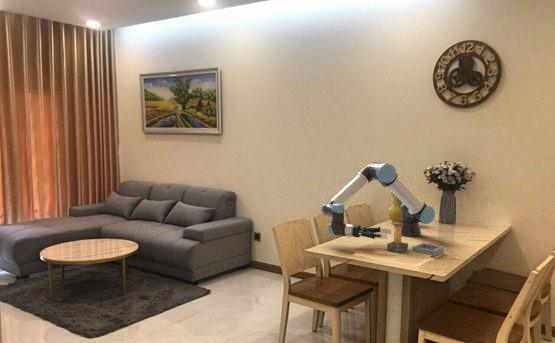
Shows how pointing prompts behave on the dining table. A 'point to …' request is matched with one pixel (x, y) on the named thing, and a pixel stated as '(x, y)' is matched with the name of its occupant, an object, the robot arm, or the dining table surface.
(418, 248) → the tray
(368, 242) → the dining table surface
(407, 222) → the robot arm
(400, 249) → the grey square socket
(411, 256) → the dining table surface
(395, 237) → the lock pin
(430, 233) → the dining table surface
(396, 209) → the pitcher
